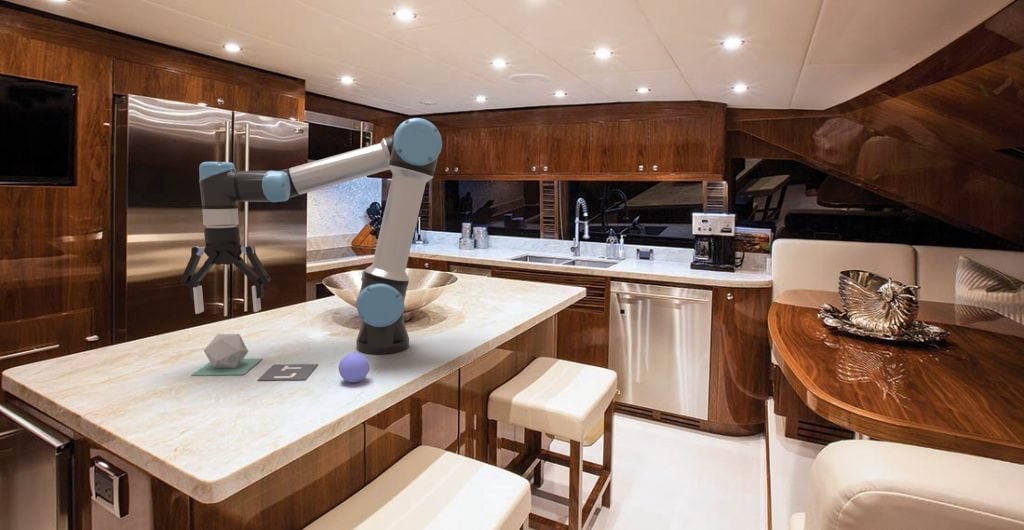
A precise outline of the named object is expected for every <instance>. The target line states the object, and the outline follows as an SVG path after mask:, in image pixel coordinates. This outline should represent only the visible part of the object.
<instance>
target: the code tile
mask: <svg viewBox="0 0 1024 530" xmlns="http://www.w3.org/2000/svg"><path fill="white" fill-rule="evenodd" d="M317 367H318V363H310V364H309V363H305V364H304V363H301V364H300V363H299V364H297V363H296V364H294V363H293V364H292V363H289V364H288V363H287V364H285V363H284V364H275V363H274V364H272V365H271V366H270V367H269V368H268V369H267V370H266V371H265V372H264V373H263V374H262V375H260V376H259V378H257V379H256V381H257V382H283V381H285V382H286V381H289V382H291V381H292V382H293V381H297V382H299V381H300V382H302V381H305V382H306V381H307V379H308V378H309V377H310V376H311V374H312V373H313V372H314V370H316V368H317Z"/></svg>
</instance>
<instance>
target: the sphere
mask: <svg viewBox="0 0 1024 530" xmlns="http://www.w3.org/2000/svg"><path fill="white" fill-rule="evenodd" d="M369 370H370V363H369V360H368V358H367V357H366V356H365V355H364V354H363V353H361V352H351V353H348V354H346V355H344V357H342V359H341V360H340V362H339V364H338V372H339V375H340V377H341V378H342V379H343V380H344V381H346V382H349V383H359V382H360V381H362V380H364V379H365V378H366V377H367V376H368V374H369V372H370V371H369Z"/></svg>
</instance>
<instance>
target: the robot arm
mask: <svg viewBox="0 0 1024 530" xmlns="http://www.w3.org/2000/svg"><path fill="white" fill-rule="evenodd" d="M442 149H443V140H442V135H441V133H440V131H439V129H438V128H437V126H436V125H434V124H433V122H431V121H429V120H428V119H424V118H422V117H421V118H420V117H413V118H409V119H406V120H404V121H403V122H402V123H400V124H399V126H397V128H396V130H395V131H394V134H392V135H390V136H386V137H383V138H382V139H381V141H380V142H379V143H375V144H371V145H367V146H365V147H361V148H357V149H354V150H349V151H346V152H343V153H339V154H335V155H332V156H328V157H325V158H322V159H318V160H314V161H310V162H307V163H303V164H300V165H296V166H292V167H290V168H285V169H281V170H273V169H272V170H238V169H236V168H235V164H234V163H233V162H227V161H204V162H201V163H200V164H199V167H198V170H199V171H198V172H199V180H198V182H199V188H200V189H199V190H200V198H201V199H200V200H201V208H202V225H203V226H205V228H204V229H203V233H204V243H205V247H204V246H203V247H202V246H199V245H196V246H192V247H191V253H190V254H191V255H190V258H189V260H188V263H187V265H186V267H185V269H184V271H183V274H182V277H181V278H180V281H179V284H180V285H182V286H187V287H188V288H189V298H190V299H191V301H194V312H195V314H196V315H198V314H201V313H203V312H205V307H204V306H205V305H204V298H203V297H204V296H203V295H204V294H203V287H202V286H203V285H200V282H201V281H202V280H203V279H204V278H205V277H206V275H207V273H209V271H210V270H211V269H212V268H213V267H214V266H215V265H216V266H220V265H227V266H228V265H233V266H235V267H237V268H238V269H239V270H240V271H241V272H242V273H243V274H244V275H245V276H246V277H247V279H249V281H251V282H252V283H253V284H254V285H252V286H251V295H252V297H251V298H252V305H253V306H252V309H253V313H259V311H261V310H262V306H261V305H262V304H261V299H262V298H263V297H264V284H267V283H268V282H270V281H271V279H272V278H271V276H270V275H269V273H268V272H267V270H266V268H265V267H264V265H263V264H262V262H261V260H260V258H259V257H258V255H257V252H256V248H255V247H256V246H254V245H252V244H251V245H247V246H242V245H241V234H240V233H241V232H240V228H239V226H238V225H239V224H240V219H239V210H238V202H239V203H243V202H244V203H245V202H246V203H247V202H248V203H249V202H251V203H252V202H254V203H255V202H256V203H260V202H261V203H262V202H263V203H269V202H270V203H278V202H287V201H288V200H289V199H291V198H294V197H298V196H301V195H303V194H307V193H310V192H314V191H318V190H321V189H325V188H329V187H333V186H335V185H339V184H343V183H345V182H349V181H354V180H356V179H360V178H364V177H367V176H371V175H374V174H378V173H381V172H385V171H391V173H392V176H391V181H390V185H389V190H388V194H387V199H386V203H385V207H384V212H383V217H382V221H381V226H380V229H379V234H378V239H377V243H376V247H375V252H374V255H373V261H372V264H371V265H370V266H367V267H366V268H365V269H364V270H363V271H362V274H361V284H360V285H361V286H360V290H359V294H358V295H357V298H356V302H355V305H356V306H355V307H356V311H357V313H358V315H359V317H360V318H361V319H362V320H361V321H362V322H361V325H360V329H359V331H358V335H357V337H356V341H355V342H356V343H355V344H356V347H355V348H356V350H357V351H358V352H360V353H364V354H371V355H387V354H395V353H400V352H403V351H405V350H407V349H408V348H409V347H410V336H409V334H408V331H407V327H406V324H405V322H404V310H405V300H406V294H407V291H408V286H409V282H410V277H409V276H408V274H407V272H406V270H407V266H408V262H409V256H410V253H411V248H412V243H413V239H414V235H415V232H416V227H417V222H418V218H419V213H420V209H421V205H422V202H423V197H424V193H425V188H426V184H427V183H428V182H429V181H431V180H433V178H434V175H435V171H436V167H437V163H438V159H439V155H440V154H441V152H442ZM242 253H243V254H244V255H246V257H247V259H248V260H249V262H250V263H251V265H252V267H253V269H254V270H253V269H252V267H250V265H248V264H247V263H246V261H245V260H244V259H243V258H242V257H241V255H242ZM204 254H205V255H206V256H207V259H206V260H205V261H204V262H203V265H202V266H201V267H200V268H199V270H198V271H197V272H196V270H197V266H198V264H199V262H200V261H201V258H202V256H203V255H204ZM195 272H196V274H195Z"/></svg>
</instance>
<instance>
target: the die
mask: <svg viewBox="0 0 1024 530" xmlns="http://www.w3.org/2000/svg"><path fill="white" fill-rule="evenodd" d="M203 352H204V354H205V356H206V357H207V359H208V361H209V362H210V363H211V365H212V366H213V368H236V367H237V366H238V364H239V363H240V362H241V361H242V359H245V357H246V355H248V353H249V349H248V347H247V346H246V344H245V341H244V340H243V338H242V336H241V334H240V333H217V334H216V335H215V337H213V339H212V340H211V341H210V342H209V343H208V345H206V347H205V348H204V349H203Z"/></svg>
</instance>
